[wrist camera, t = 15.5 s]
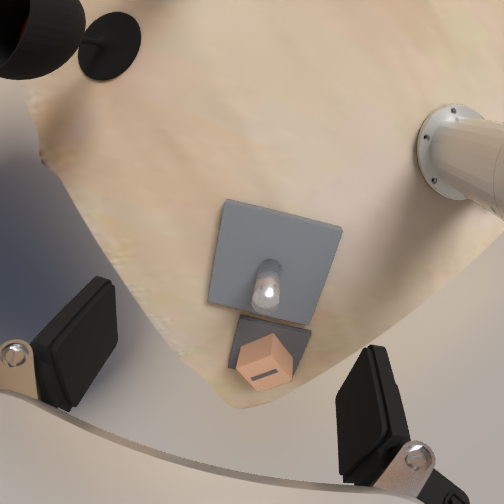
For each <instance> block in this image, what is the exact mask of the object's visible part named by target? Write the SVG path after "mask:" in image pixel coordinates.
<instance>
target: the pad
mask: <svg viewBox="0 0 504 504" xmlns="http://www.w3.org/2000/svg"><path fill="white" fill-rule="evenodd" d="M272 333H274V334H275V336H276V337H277V338H278V339H279V341H280V342H281V343H282V344H283V346H284V347H285V348H286V350H287V351H288V352H289V353H290V355H291V356H292V357H293V370H292V378H293V375H294V373H295V371H296V369H297V366H298V364H299V362H300V360H301V357H302V355H303V353H304V350H305V348H306V346H307V343H308V341H309V338H310V336H311V331H310V330H306V329H301V328H296V327H292V326H287V325H283V324H278V323H274V322H270V321H265V320H261V319H257V318H253V317H249V316H245V315H240V318H239V322H238V327H237V331H236V335H235V339H234V344H233V348H232V352H231V356H230V360H229V365H228V368H232V369H236V366H237V361H238V357H239V353H240V349H241V346H244V345H246V344H248V343H251V342H253V341H256V340H258V339H260V338H263V337H265V336H267V335H270V334H272ZM236 370H237V369H236Z"/></svg>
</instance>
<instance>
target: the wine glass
mask: <svg viewBox="0 0 504 504" xmlns="http://www.w3.org/2000/svg"><path fill="white" fill-rule="evenodd" d="M85 26H86V18H85V13H84V9H83V7H82V5H81V3H80V1H79V0H0V77H1V78H6V79H12V80H26V79H34V78H38V77H41V76H44V75H46V74H49V73H51V72H53V71H55V70H56V69H58V68H59V67H61V66H62V65H63V64H64V63H66V62H67V61H68V60H69V59H70V58H71V57H72V56H73V54H74V53H75V52H76V50H77V49H78V47H79V50H78V59H79V64H80V67H81V69H82V70H83V72H84V73H85V74H86V75H87V76H88V77H90V78H92V79H96V80H108V79H112V78H114V77H116V76H118V75H120V74H121V73H123V72H124V71H125V70H126V69H127V68H128V67H129V66H130V65H131V63H132V62H133V61H134V59H135V57H136V55H137V53H138V51H139V47H140V43H141V31H140V27H139V25H138V23H137V21H136V20H135V19H134V18H133V17H132V16H130V15H128V14H126V13H122V12H112V13H108V14H105V15H103V16H101V17H100V18H98V19H97V20H95V21H94V22H93V23H92V24H91V25H90V26H89V27H88V28H87V30H86V31H85ZM84 32H85V33H84Z"/></svg>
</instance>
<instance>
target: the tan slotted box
mask: <svg viewBox="0 0 504 504" xmlns="http://www.w3.org/2000/svg"><path fill="white" fill-rule="evenodd" d="M236 369H237V370H238V371H239V373H240V374H241V375H242V376H243V377H244V378H245V379H246V380H247V381H248V382H249V383H250V384H251V385H252V386H253V387H254V388H255V389H256V390H257V391H258V392H260V391H263V390H266V389H269V388H272V387H275V386H278V385H281V384H283V383H286V382H289V381H292V370H293V357H292V356H291V355H290V353H289V352H288V351H287V350H286V348H285V347H284V346H283V344H282V343H281V342H280V341H279V339H278V338H277V337H276V336H275V334H274V333H272V334H270V335H267V336H265V337H263V338H260V339H258V340H256V341H253V342H251V343H248V344H246V345H244V346H241V349H240V353H239V357H238V361H237V366H236Z"/></svg>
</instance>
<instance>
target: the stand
mask: <svg viewBox="0 0 504 504" xmlns="http://www.w3.org/2000/svg"><path fill="white" fill-rule="evenodd" d="M342 232H343V231H342V228H341V227H339V226H335V225H331V224H327V223H324V222H320V221H316V220H312V219H308V218H304V217H300V216H296V215H292V214H288V213H284V212H280V211H276V210H272V209H268V208H264V207H259V206H255V205H251V204H247V203H242V202H238V201H234V200H229V199H227V200H226V201H225V203H224V209H223V214H222V220H221V225H220V231H219V237H218V242H217V248H216V254H215V260H214V266H213V271H212V277H211V284H210V290H209V296H208V301H209V302H213V303H216V304H220V305H224V306H228V307H232V308H236V309H240V310H244V311H248V312H252V313H257V314H260V313H258V312H257V311H255V310H254V309H253V307H252V303H251V301H252V297H253V292H254V288H255V284H256V279H257V275H258V271H259V266H260V264H261V263H262V262H263V261H264V260H267V259H274V260H276V261H278V262H279V263H280V264H281V266H282V276H281V286H280V296H279V306H278V308H277V310H276V311H275V312H273V313H271V314H261V315H265V316H269V317H274V318H278V319H282V320H287V321H291V322H296V323H300V324H305V325H309V324H310V321H311V318H312V316H313V313H314V311H315V308H316V305H317V303H318V300H319V298H320V295H321V292H322V289H323V287H324V284H325V281H326V279H327V276H328V273H329V270H330V267H331V265H332V262H333V259H334V256H335V253H336V250H337V247H338V244H339V241H340V238H341V235H342Z"/></svg>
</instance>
